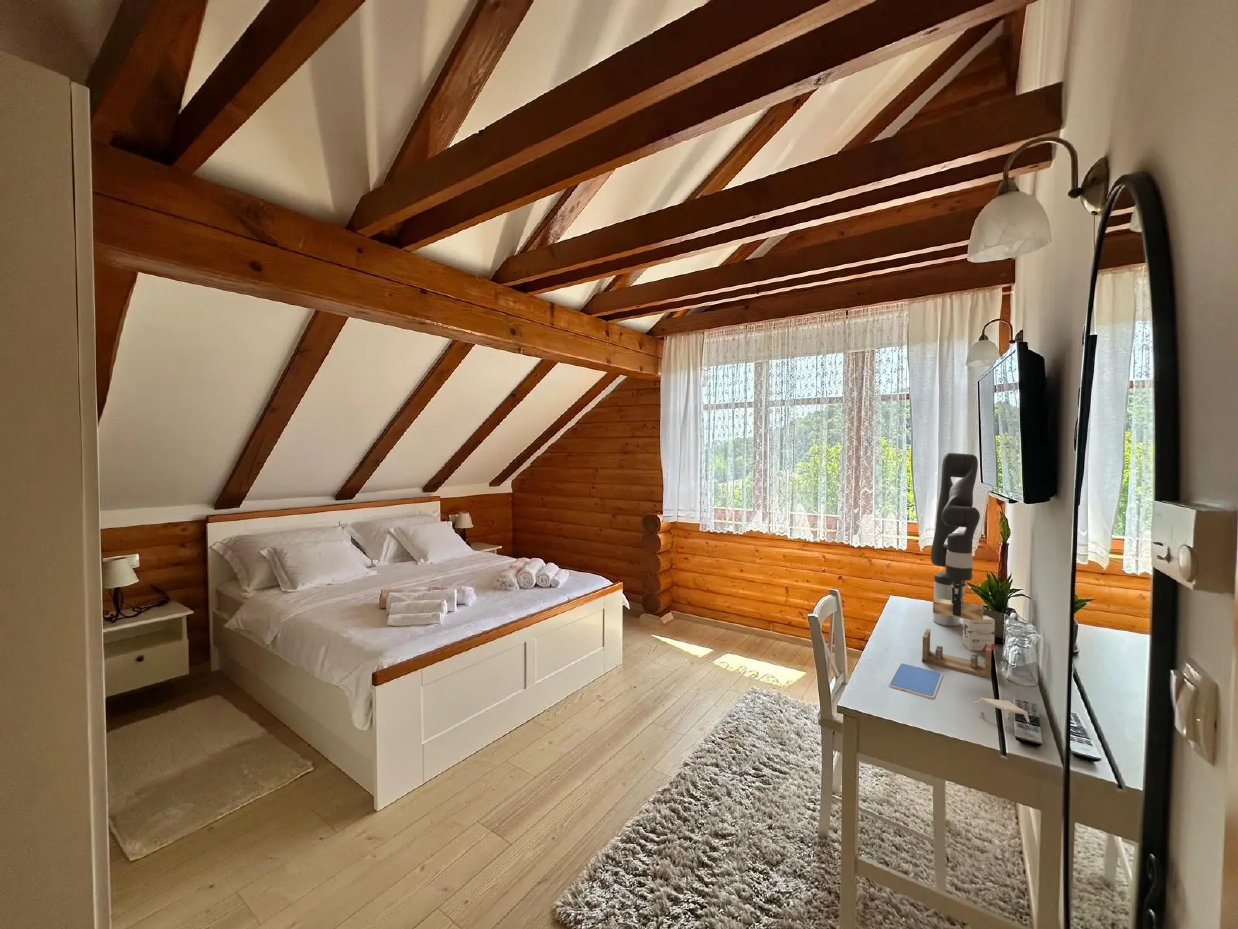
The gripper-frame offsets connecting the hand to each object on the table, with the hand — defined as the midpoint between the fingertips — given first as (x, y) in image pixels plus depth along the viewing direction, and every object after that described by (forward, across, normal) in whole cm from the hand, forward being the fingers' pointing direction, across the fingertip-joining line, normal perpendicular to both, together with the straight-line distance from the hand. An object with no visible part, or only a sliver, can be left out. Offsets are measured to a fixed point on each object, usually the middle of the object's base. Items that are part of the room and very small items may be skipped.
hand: (957, 613), depth 169 cm
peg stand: (+18, 0, 0) cm, 18 cm away
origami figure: (+19, -32, -13) cm, 39 cm away
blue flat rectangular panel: (+19, -21, +9) cm, 30 cm away
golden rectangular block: (+1, 0, 0) cm, 1 cm away
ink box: (+19, +21, -5) cm, 28 cm away
